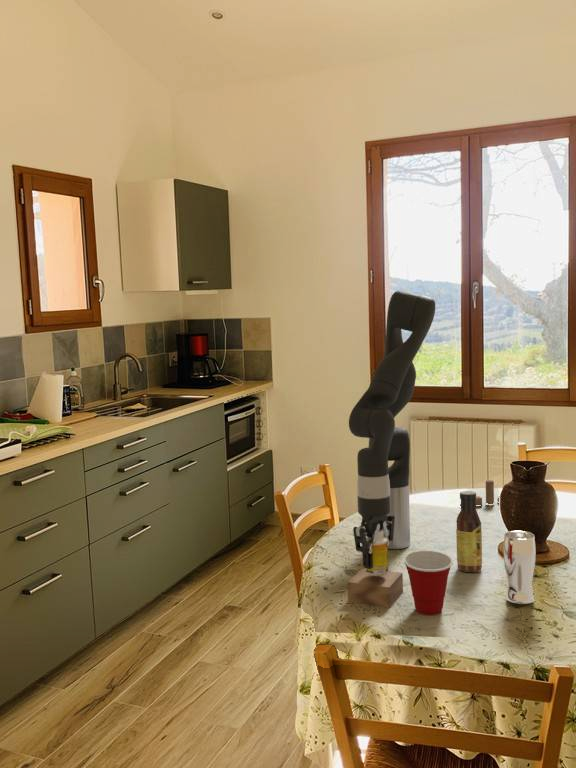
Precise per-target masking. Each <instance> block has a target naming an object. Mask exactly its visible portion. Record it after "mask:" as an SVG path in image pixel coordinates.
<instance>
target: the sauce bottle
mask: <svg viewBox="0 0 576 768" xmlns="http://www.w3.org/2000/svg"><path fill="white" fill-rule="evenodd" d="M476 497H477V493H476V492H475V491H473V490H472V491H469V490H467V491H466V490H465V491H461V492H459V499H460V504H461V508H460V512H459V513H458V514H457V517H456V534H455V535H456V562H457V569H458V570H459V571H460V572H464V573H473V574H474V573H478V572H480V571H481V570H482V567H483V565H482V564H483V544H482V543H483V542H482V541H483V540H482V539H483V538H482V537H483V535H482V534H483V533H482V522H481V519H480V517H479V513H478V511H477V507H476Z"/></svg>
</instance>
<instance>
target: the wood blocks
mask: <svg viewBox="0 0 576 768" xmlns="http://www.w3.org/2000/svg"><path fill="white" fill-rule="evenodd" d="M494 483H495V482H494V480H491V479H488V480H485V504H486V503H488V504H493V503H494V504H495V490H494V489H495V488H494V487H495V485H494ZM497 501H498V502H499V497H497ZM497 501H496V502H497ZM498 502H497V503H498ZM459 505H460V506H461V503H460V504H459ZM476 505H482V506H483V497H481V496H478V495H477V496H476Z"/></svg>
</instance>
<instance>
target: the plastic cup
mask: <svg viewBox="0 0 576 768" xmlns="http://www.w3.org/2000/svg"><path fill="white" fill-rule="evenodd" d="M402 558H403V563H404V565H405V566H406V570H407V574H408V577H409V584H410V589H411V594H412V598H413V602H414V607H415V611H416V612H417V613H418V614H421V615H426V616H434V615H438V614H441V612H442V611H443V607H444V603H445V597H446V591H447V584H448V578H449V574H450V571H451V567H452V565H454V561H453V558H452V557H451V556H450V555H448V554H446V553H444V552H441V551H437V550H436V551H435V550H425V549H424V550H417V551H411V552H409V553H407V554H405V555H404V556H403V557H402Z"/></svg>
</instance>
